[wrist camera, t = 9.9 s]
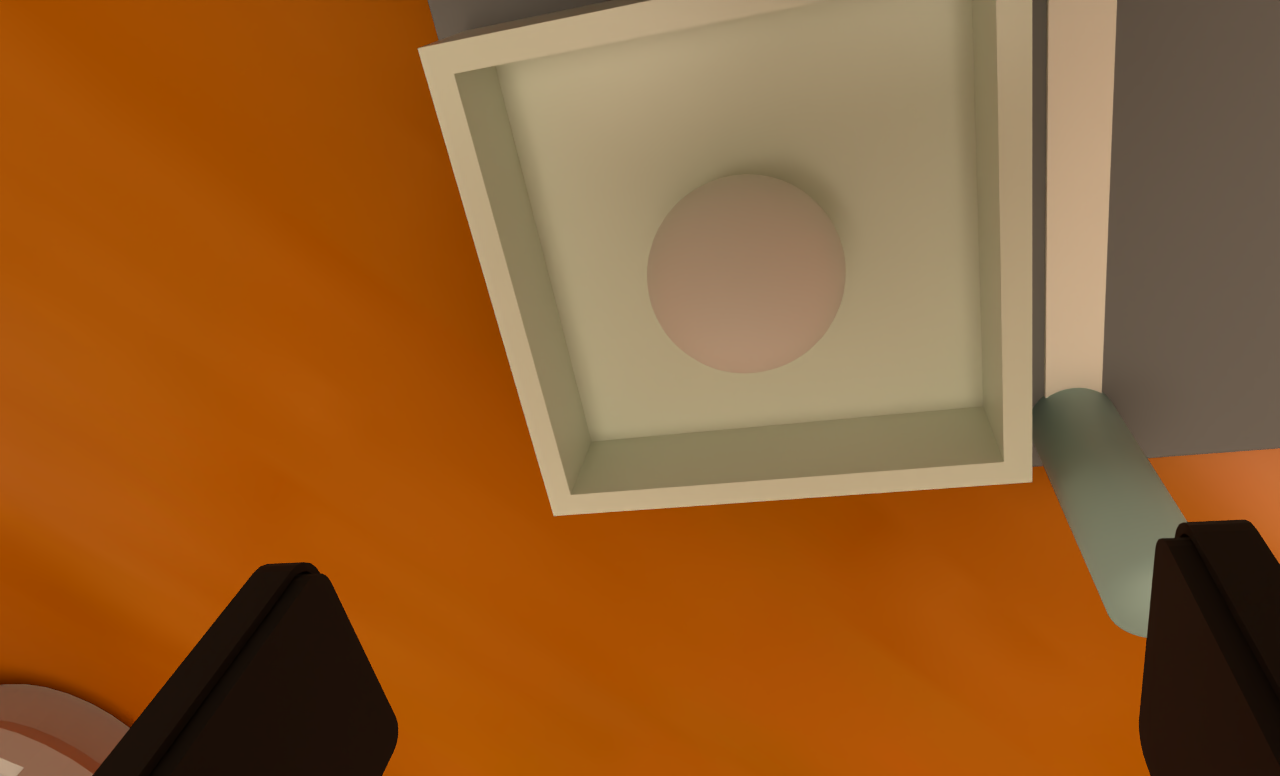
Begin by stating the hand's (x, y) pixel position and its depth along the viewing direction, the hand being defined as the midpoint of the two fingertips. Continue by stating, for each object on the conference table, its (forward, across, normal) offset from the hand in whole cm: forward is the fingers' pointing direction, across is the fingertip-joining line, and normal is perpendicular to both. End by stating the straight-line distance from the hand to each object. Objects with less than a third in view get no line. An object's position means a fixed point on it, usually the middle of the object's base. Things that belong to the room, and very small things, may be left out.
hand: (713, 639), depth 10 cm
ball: (+16, +1, +1) cm, 16 cm away
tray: (+17, +1, +1) cm, 17 cm away
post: (+17, -8, +8) cm, 20 cm away
